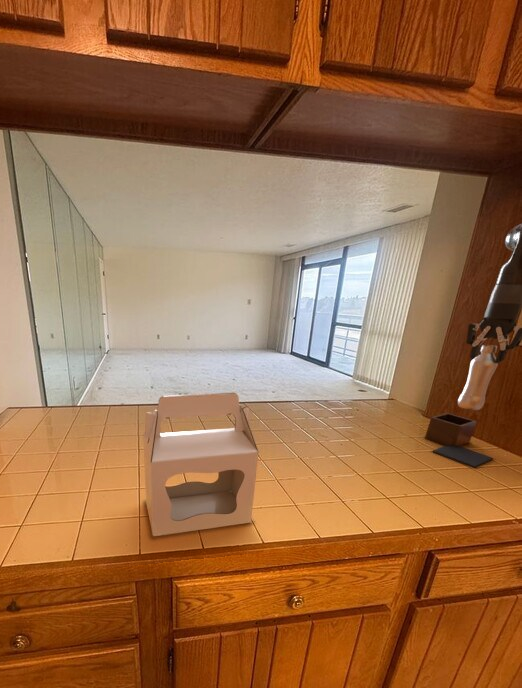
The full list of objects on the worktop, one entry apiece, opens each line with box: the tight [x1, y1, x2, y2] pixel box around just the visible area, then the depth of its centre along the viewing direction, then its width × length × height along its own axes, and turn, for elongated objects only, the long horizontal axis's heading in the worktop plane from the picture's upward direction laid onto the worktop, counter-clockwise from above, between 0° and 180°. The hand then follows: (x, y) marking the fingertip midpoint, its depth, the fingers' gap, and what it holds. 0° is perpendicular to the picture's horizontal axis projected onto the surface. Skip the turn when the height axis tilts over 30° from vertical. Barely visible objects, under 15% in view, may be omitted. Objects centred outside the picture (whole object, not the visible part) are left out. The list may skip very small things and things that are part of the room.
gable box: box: [142, 392, 259, 537], centre depth 74 cm, size 22×13×28 cm, turn 104°
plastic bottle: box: [457, 344, 499, 411], centre depth 107 cm, size 6×7×20 cm
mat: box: [432, 445, 494, 469], centre depth 111 cm, size 12×12×1 cm
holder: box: [424, 412, 478, 447], centre depth 121 cm, size 11×10×8 cm
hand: (485, 360), depth 105 cm, fingers closed on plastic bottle, 5 cm apart
